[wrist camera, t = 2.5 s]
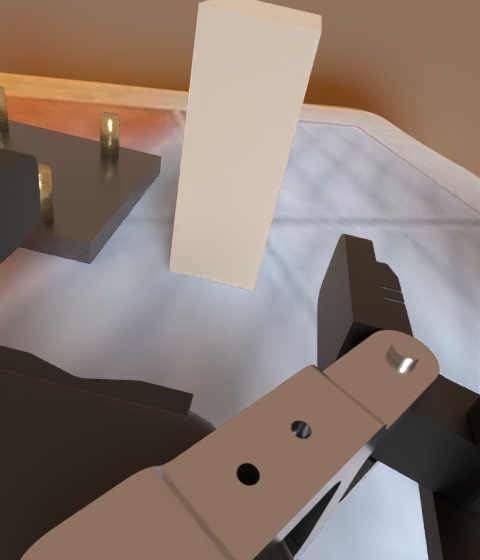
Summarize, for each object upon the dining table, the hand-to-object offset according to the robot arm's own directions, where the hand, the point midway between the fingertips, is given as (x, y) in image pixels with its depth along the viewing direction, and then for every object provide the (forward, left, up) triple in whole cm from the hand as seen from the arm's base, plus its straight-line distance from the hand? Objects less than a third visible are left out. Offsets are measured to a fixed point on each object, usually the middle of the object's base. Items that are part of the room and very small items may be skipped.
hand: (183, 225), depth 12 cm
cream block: (0, -11, -8) cm, 14 cm away
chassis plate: (+13, -13, -8) cm, 20 cm away
